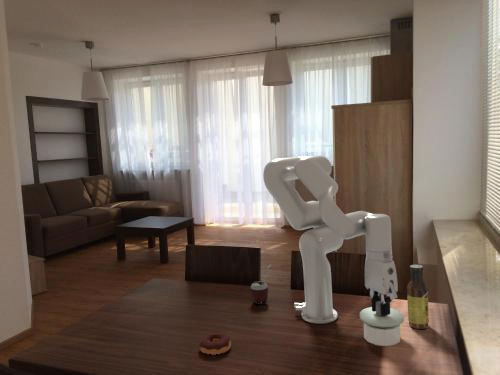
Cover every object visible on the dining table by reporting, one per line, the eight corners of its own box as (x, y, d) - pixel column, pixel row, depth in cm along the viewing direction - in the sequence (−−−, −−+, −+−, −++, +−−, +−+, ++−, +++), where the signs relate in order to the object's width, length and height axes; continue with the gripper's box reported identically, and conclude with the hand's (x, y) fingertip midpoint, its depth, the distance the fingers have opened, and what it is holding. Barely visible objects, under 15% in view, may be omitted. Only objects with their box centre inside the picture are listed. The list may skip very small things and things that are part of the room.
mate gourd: (248, 304, 161) (245, 267, 160) (258, 297, 168) (255, 262, 166) (264, 307, 157) (261, 269, 156) (274, 300, 164) (271, 264, 162)
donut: (194, 348, 129) (193, 336, 129) (220, 338, 135) (219, 326, 134) (210, 361, 121) (209, 348, 120) (238, 349, 127) (237, 337, 126)
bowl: (362, 343, 125) (362, 327, 124) (366, 328, 134) (365, 313, 134) (399, 347, 121) (399, 331, 120) (400, 331, 130) (400, 316, 130)
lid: (357, 324, 123) (357, 308, 123) (361, 308, 135) (361, 293, 135) (404, 329, 119) (403, 312, 118) (403, 311, 131) (403, 296, 130)
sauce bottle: (431, 330, 130) (429, 269, 128) (410, 329, 131) (408, 269, 129) (426, 321, 136) (424, 263, 134) (406, 321, 138) (404, 263, 136)
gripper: (408, 258, 119) (410, 319, 121) (370, 247, 134) (372, 301, 136) (388, 263, 116) (390, 325, 118) (352, 251, 131) (354, 306, 133)
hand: (381, 312), depth 127 cm, fingers closed on lid, 3 cm apart
